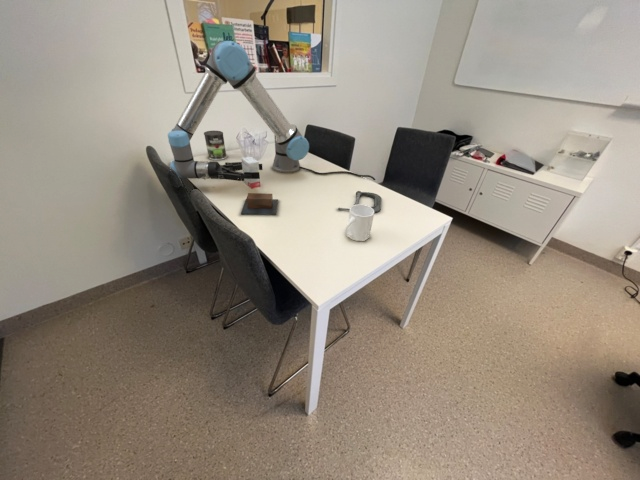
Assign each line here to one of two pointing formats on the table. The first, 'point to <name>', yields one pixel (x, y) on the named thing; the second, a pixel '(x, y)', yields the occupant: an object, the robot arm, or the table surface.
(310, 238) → the table surface
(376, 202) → the c clamp
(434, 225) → the table surface
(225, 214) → the table surface
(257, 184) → the ink box
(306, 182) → the table surface
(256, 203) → the stand
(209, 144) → the coffee can
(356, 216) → the mug
